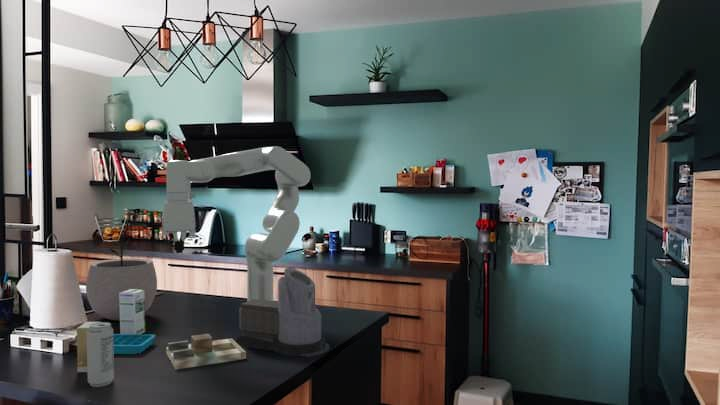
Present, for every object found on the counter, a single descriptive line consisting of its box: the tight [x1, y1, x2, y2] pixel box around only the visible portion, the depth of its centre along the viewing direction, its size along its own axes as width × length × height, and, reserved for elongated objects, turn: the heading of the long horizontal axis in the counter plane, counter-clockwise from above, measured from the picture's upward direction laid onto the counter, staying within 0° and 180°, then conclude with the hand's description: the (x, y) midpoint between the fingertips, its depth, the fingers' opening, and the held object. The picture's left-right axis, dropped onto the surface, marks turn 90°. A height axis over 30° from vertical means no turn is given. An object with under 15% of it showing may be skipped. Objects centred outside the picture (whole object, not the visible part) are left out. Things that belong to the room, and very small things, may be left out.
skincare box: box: [76, 321, 100, 373], centre depth 149 cm, size 6×4×12 cm
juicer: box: [234, 267, 330, 358], centre depth 171 cm, size 30×16×24 cm, turn 68°
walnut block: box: [190, 333, 213, 354], centre depth 159 cm, size 5×5×4 cm
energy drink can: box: [87, 321, 115, 388], centre depth 138 cm, size 6×6×15 cm
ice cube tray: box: [75, 333, 156, 355], centre depth 167 cm, size 12×20×3 cm, turn 89°
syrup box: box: [119, 289, 146, 334], centre depth 182 cm, size 6×6×14 cm
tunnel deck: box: [166, 337, 247, 370], centre depth 160 cm, size 20×15×4 cm
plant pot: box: [85, 236, 158, 321], centre depth 201 cm, size 24×24×30 cm
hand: (179, 252), depth 182 cm, fingers closed
